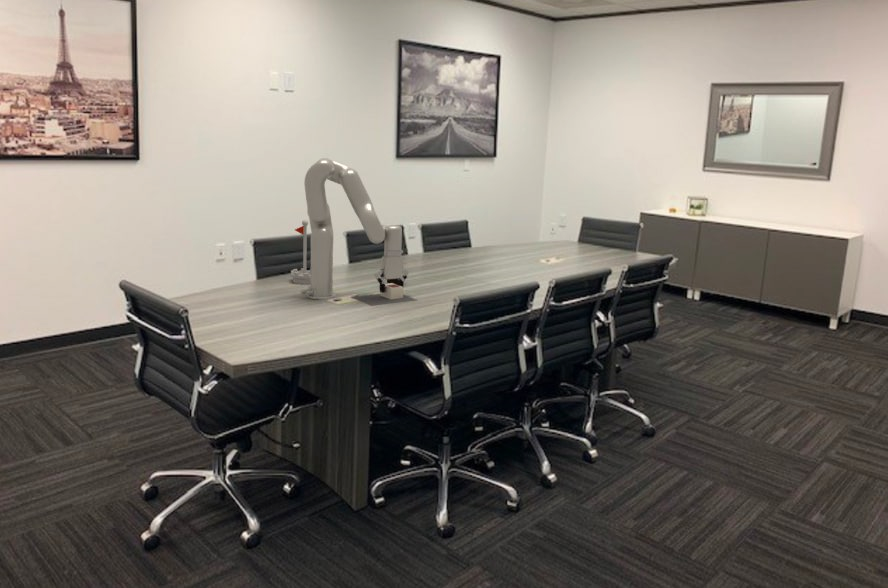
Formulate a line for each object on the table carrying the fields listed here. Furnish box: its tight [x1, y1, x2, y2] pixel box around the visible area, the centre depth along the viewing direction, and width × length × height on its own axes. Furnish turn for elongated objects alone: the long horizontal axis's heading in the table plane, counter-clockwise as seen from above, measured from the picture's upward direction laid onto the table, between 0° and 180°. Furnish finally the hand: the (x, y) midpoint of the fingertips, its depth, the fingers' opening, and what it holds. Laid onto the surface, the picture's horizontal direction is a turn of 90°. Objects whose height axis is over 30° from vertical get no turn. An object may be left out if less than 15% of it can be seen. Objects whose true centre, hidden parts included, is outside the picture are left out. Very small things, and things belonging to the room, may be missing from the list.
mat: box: [350, 293, 417, 307], centre depth 321 cm, size 24×18×1 cm
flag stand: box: [290, 219, 311, 285], centre depth 347 cm, size 13×13×30 cm
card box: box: [379, 283, 404, 299], centre depth 324 cm, size 9×6×5 cm
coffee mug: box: [386, 279, 399, 285], centre depth 354 cm, size 12×9×10 cm
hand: (391, 291), depth 325 cm, fingers open, 9 cm apart
